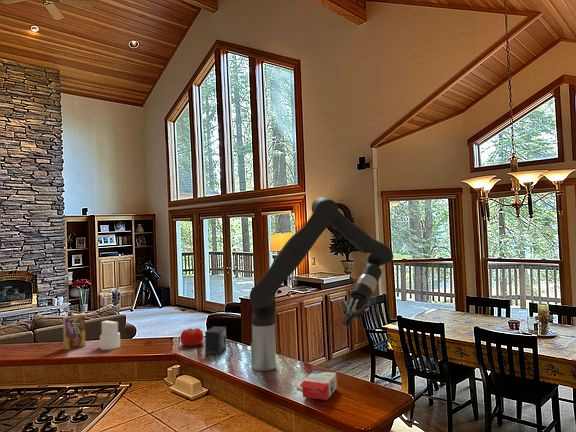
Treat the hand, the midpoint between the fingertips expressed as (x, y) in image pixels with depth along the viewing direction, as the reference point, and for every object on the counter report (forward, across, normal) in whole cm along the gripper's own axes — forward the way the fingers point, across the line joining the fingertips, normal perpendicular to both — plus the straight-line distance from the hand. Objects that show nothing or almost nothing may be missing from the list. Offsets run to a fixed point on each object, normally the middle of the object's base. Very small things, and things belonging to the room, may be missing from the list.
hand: (345, 325), depth 157 cm
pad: (+26, 0, +1) cm, 26 cm away
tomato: (+26, -81, +3) cm, 85 cm away
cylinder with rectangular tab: (+46, -109, -16) cm, 119 cm away
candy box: (+54, -122, -25) cm, 136 cm away
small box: (+25, -62, +3) cm, 67 cm away
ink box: (+21, +2, +1) cm, 21 cm away
